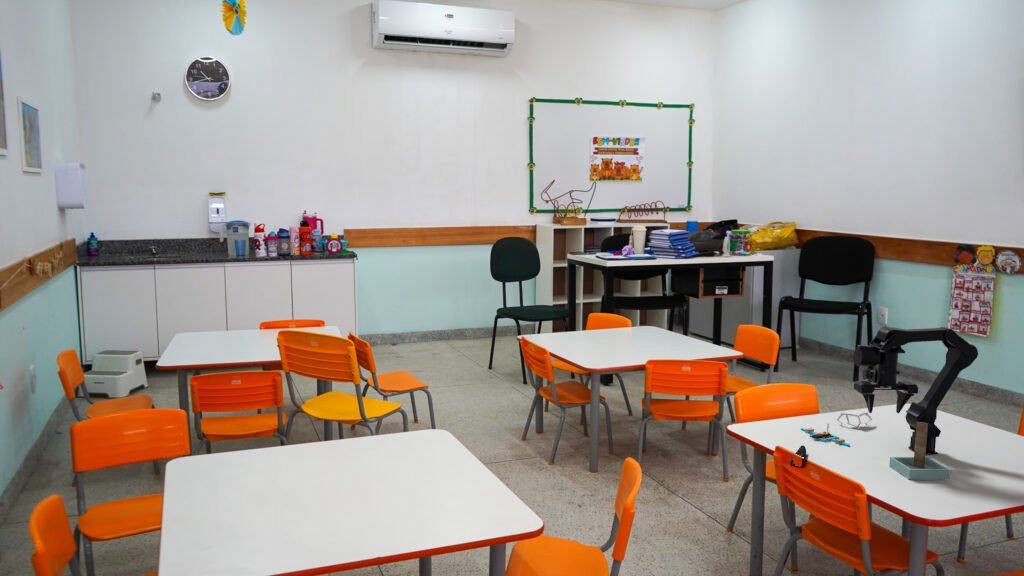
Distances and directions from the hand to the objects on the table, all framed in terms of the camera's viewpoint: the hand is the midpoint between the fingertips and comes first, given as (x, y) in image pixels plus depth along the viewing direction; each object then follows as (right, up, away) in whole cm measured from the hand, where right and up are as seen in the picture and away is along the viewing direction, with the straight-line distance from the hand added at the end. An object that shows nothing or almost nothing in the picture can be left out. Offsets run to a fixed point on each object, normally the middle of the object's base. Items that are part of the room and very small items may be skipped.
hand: (883, 412), depth 245 cm
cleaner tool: (+2, -14, -18) cm, 23 cm away
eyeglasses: (+5, -10, +30) cm, 32 cm away
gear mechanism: (-14, -12, +15) cm, 24 cm away
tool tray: (+2, -15, -18) cm, 23 cm away
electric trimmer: (-31, -14, -7) cm, 34 cm away
